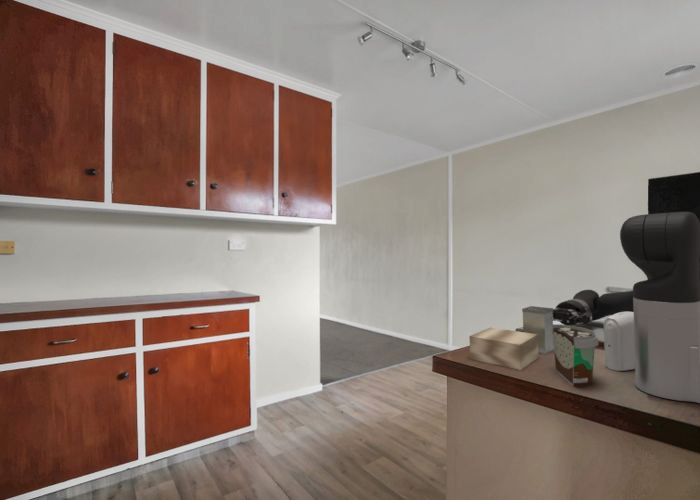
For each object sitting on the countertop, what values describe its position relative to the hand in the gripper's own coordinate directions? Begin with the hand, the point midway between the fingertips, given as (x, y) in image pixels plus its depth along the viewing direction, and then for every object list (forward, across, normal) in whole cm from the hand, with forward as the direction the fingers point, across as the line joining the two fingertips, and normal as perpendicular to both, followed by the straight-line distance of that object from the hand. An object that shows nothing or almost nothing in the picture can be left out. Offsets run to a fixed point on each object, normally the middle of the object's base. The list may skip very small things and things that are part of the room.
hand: (553, 319), depth 99 cm
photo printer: (+10, -19, -7) cm, 23 cm away
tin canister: (+10, 0, -6) cm, 12 cm away
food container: (+26, -14, -7) cm, 30 cm away
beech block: (+24, +3, -7) cm, 25 cm away
